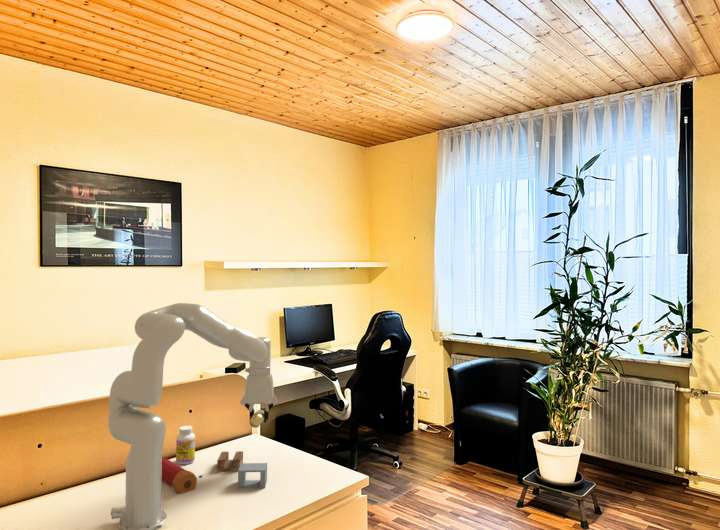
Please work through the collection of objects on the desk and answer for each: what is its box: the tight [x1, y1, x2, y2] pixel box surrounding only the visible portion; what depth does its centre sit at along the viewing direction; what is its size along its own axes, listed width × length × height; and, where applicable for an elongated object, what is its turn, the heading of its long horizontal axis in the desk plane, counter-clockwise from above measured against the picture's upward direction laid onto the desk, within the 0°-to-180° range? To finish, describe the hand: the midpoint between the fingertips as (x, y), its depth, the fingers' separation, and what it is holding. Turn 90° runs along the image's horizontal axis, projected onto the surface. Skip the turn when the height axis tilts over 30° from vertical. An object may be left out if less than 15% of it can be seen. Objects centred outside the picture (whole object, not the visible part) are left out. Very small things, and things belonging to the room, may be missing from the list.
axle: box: [249, 409, 265, 429], centre depth 182 cm, size 14×4×4 cm, turn 4°
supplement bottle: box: [175, 425, 196, 465], centre depth 190 cm, size 7×7×13 cm
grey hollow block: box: [237, 462, 268, 489], centre depth 169 cm, size 6×9×7 cm
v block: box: [216, 450, 244, 473], centre depth 184 cm, size 8×8×5 cm
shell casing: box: [162, 457, 198, 495], centre depth 170 cm, size 7×20×7 cm, turn 45°
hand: (259, 421), depth 186 cm, fingers closed on axle, 4 cm apart
